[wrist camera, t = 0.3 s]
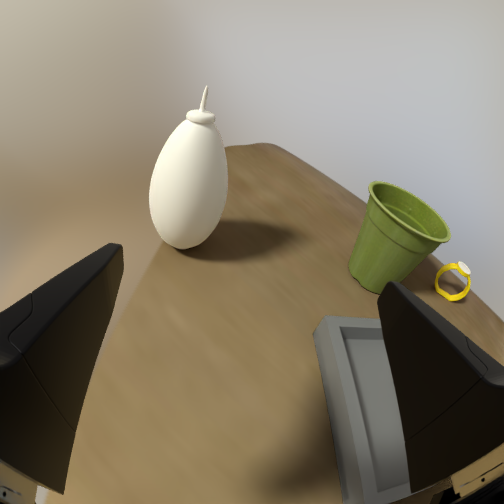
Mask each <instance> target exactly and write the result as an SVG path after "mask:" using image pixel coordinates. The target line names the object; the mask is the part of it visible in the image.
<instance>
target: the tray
mask: <svg viewBox="0 0 504 504" xmlns="http://www.w3.org/2000/svg"><path fill="white" fill-rule="evenodd" d="M313 337H314V342H315V346H316V351H317V356H318V361H319V366H320V371H321V376H322V381H323V386H324V391H325V396H326V402H327V407H328V413H329V418H330V424H331V429H332V435H333V441H334V447H335V453H336V459H337V465H338V471H339V478H340V484H341V491H342V498H343V504H389V503H392V502H395V501H397V500H400V499H403V498H405V497H408V496H411V495H413V494H416V493H418V492H420V491H418V492H415V493H413V494H411V491H410V482H409V473H408V465H407V457H406V450H405V441H404V436H403V430H402V424H401V418H400V413H399V407H398V402H397V397H396V392H395V387H394V383H393V378H392V374H391V369H390V365H389V361H388V357H387V353H386V348H385V344H384V340H383V335H382V328H381V322H380V319H372V318H355V317H341V316H327V315H325V316H324V318H323V319H322V321H321V322H320V324H319V325H318V327H317V328H316V330H315V331H314V333H313ZM440 483H441V482H440ZM433 486H434V485H433ZM431 487H432V486H431ZM428 488H430V487H428ZM426 489H427V488H426ZM423 490H425V489H423ZM423 490H421V491H423Z"/></svg>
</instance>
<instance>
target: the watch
mask: <svg viewBox="0 0 504 504" xmlns="http://www.w3.org/2000/svg"><path fill="white" fill-rule="evenodd" d="M450 269H456V270H458V272H459V273H460V274H461V275H463V276H464V277H467V279H468V283H467V286H466V288H465V289H464V291H462V292H461V293H459V294H457V295H449V294H448V293H446V292H445V291H443V290H442V289H440V288H439V286H438V278H439V277H440V276H441V274H442V273H443V272H445V271H447V270H450ZM470 274H471V272H470V270H469V268H468V267H467V266H466V265H465V264H464V263H462V262H458V263H457V264H456V263H450V264H447V265H445V266H443V267H441V269H440V270H439V271H438V272H437V274H436V279H435V289H436V292H437V293H439V294H440V295H442V296H443V297H445V298H446V299H447V300H449V301H457V300H460V299H462V298H463V297H464V296H466V294H467V293H468V291H469V289H470V282H471V281H470Z"/></svg>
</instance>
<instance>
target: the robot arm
mask: <svg viewBox="0 0 504 504" xmlns="http://www.w3.org/2000/svg"><path fill="white" fill-rule="evenodd" d="M123 270H124V262H123V247H122V245H121V244H115V243H109V244H107V245H105V246H103V247H102V248H100V249H98V250H97V251H95V252H93V253H92V254H90V255H88V256H87V257H85V258H84V259H82V260H80V261H79V262H77V263H75V264H74V265H72V266H71V267H69V268H68V269H66V270H64V271H63V272H61V273H60V274H58V275H57V276H55V277H53V278H52V279H50V280H49V281H47V282H46V283H44V284H43V285H41V286H40V287H38V288H37V289H35V290H34V291H33V292H32V293H29V294H28V295H27V296H25V297H24V298H22V299H21V300H19V301H18V302H16V303H15V304H13V305H12V306H10V307H9V308H7V309H5V310H4V311H2V312H0V504H36V503H35V497H36V491H37V485H39V486H42V487H44V488H47V489H49V490H52V491H54V492H57V493H59V494H62V495H63V494H64V490H65V484H66V478H67V472H68V467H69V462H70V457H71V452H72V448H73V443H74V439H75V432H76V430H77V426H78V422H79V418H80V414H81V410H82V406H83V403H84V399H85V395H86V392H87V388H88V385H89V382H90V378H91V375H92V372H93V369H94V366H95V362H96V359H97V356H98V353H99V350H100V347H101V344H102V341H103V339H104V336H105V333H106V330H107V327H108V325H109V322H110V319H111V316H112V313H113V309H114V305H115V301H116V297H117V294H118V290H119V286H120V282H121V278H122V275H123ZM377 305H378V311H379V316H380V322H381V328H382V335H383V340H384V344H385V348H386V353H387V357H388V361H389V365H390V369H391V374H392V378H393V383H394V387H395V392H396V397H397V402H398V407H399V413H400V418H401V424H402V430H403V436H404V441H405V450H406V457H407V465H408V473H409V482H410V491H411V494H413V493H415V492H418V491H421V490H423V489H426V488H428V487H431V486H433V485H436V484H438V483H440V482H443V481H445V480H447V479H449V478H451V482H452V485H453V487H451V488H449V489H446V490H444V491H442V492H440V493H438V494H435V495H434V496H433V498H432V500H431V502H430V504H504V366H502V365H501V364H500V363H499V362H497V361H496V360H495V359H494V358H492V357H491V356H490V355H489V354H487V353H486V352H485V351H484V350H482V349H481V348H480V347H479V346H477V345H476V344H475V343H474V342H473V341H471V340H470V339H469V338H468V337H467V336H465V335H464V334H463V333H462V332H461V331H460V330H458V329H457V328H456V327H455V326H453V325H452V324H451V323H450V322H449V321H447V320H446V319H445V318H444V317H443V316H441V315H440V314H439V313H438V312H436V311H435V310H434V309H433V308H431V307H430V306H429V305H428V304H426V303H425V302H424V301H422V300H421V299H420V298H419V297H417V296H416V295H415V294H414V293H412V292H411V291H410V290H408V289H407V288H406V287H404V286H403V285H402V284H400V283H399V282H394V281H389V282H387V283H386V285H385V287H384V289H383V290H382V292H381V294H380V296H379V298H378V301H377Z"/></svg>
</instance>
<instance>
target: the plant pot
mask: <svg viewBox="0 0 504 504" xmlns="http://www.w3.org/2000/svg"><path fill="white" fill-rule="evenodd" d="M368 189H369V193H370V196H369V200H368V203H367V207H366V210H367V211H366V214H365V218H364V221H363V224H362V227H361V230H360V233H359V235H358V238H357V241H356V244H355V247H354V249H353V252H352V255H351V258H350V261H349V270H350V273H351V274H352V276H353V277H354V278H356V279H357V280H358V281H359V283H360V284H361V286H363V287H364V288H366V289H367V290H369V291H371V292H374V293H378V294H381V292H382V290H383V289H384V287H385V285H386V283H387V282H389V281H394V282H399V283H400V282H401V281H402V280H403V279H404V278H405V277H406V276H407V275H408V274H410V273H411V272H412V271H413V270H414V269H415V268H416V267H417V266H418V265H419V264H420V263H421V261H422V260H423V259H424V258H425V257H426V256H427V255H428V254H430V253H432V252H433V251H434V250H435V249H436V248H437V247H438V246H439V245H440V244H441V243H445V242H448V241H449V240H450V238H451V233H450V230H449V227H448V226H447V224H446V223H445V221H444V220H443V219H442V218H441V217H440V216H439V214H438V213H437V212H436V211H435V210H433V209H432V208H431V207H430V206H429V205H428V204H426V203H425V202H424V201H422V200H421V199H420V198H418V197H416V196H415V195H413V194H412V193H410V192H408V191H406V190H404V189H402V188H400V187H398V186H395V185H393V184H390V183H386V182H381V181H374V182H372V183H370V184H369V187H368Z"/></svg>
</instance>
